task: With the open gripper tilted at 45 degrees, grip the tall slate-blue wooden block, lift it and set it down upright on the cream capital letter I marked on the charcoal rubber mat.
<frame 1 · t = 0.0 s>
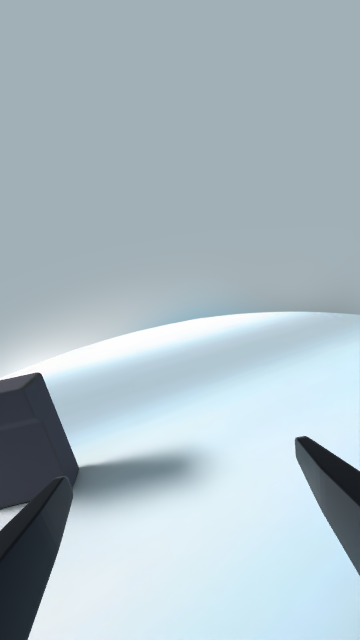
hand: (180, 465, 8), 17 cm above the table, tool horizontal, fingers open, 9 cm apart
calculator: (34, 491, 27), on the table
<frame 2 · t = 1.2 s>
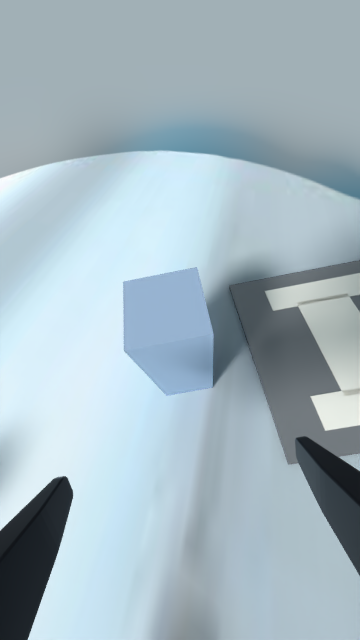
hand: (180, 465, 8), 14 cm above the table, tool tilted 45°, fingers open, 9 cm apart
blue block: (185, 368, 24), on the table
letter mat: (343, 340, 23), on the table
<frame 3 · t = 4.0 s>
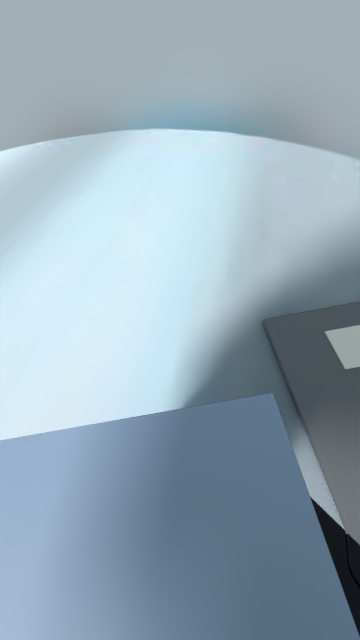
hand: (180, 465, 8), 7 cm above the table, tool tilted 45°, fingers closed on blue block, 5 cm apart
blue block: (196, 482, 13), on the table, touching gripper
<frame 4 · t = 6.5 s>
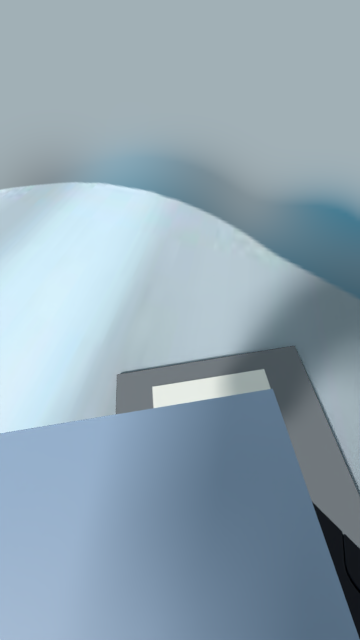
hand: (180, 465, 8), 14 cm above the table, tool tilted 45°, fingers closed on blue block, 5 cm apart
blue block: (197, 481, 13), point 7 cm above the table, touching gripper
letter mat: (224, 468, 19), on the table
when the fingers open (8 cm above the table, at t = 8.4 s): blue block stays where it is, resting on letter mat.
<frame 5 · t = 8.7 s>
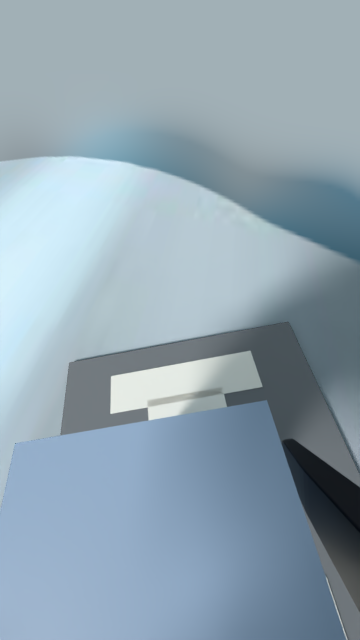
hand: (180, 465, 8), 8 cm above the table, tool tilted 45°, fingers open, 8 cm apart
blue block: (197, 480, 14), point 1 cm above the table, touching letter mat
letter mat: (197, 478, 15), on the table
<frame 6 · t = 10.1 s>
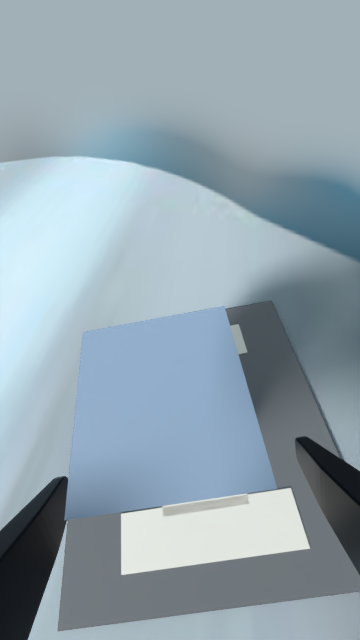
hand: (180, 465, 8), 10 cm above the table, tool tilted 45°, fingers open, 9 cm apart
blue block: (192, 423, 17), resting on letter mat
letter mat: (192, 423, 18), on the table
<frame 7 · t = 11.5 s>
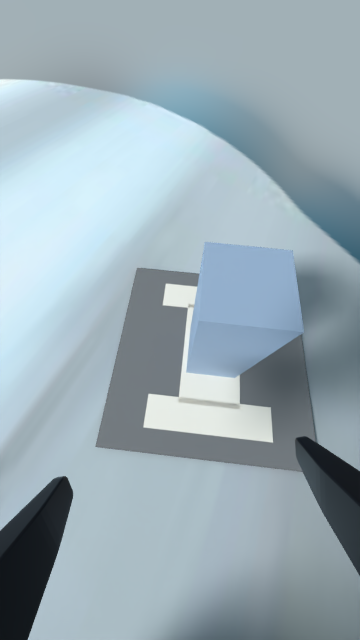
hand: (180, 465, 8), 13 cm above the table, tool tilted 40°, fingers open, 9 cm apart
blue block: (211, 351, 23), resting on letter mat
letter mat: (210, 352, 24), on the table
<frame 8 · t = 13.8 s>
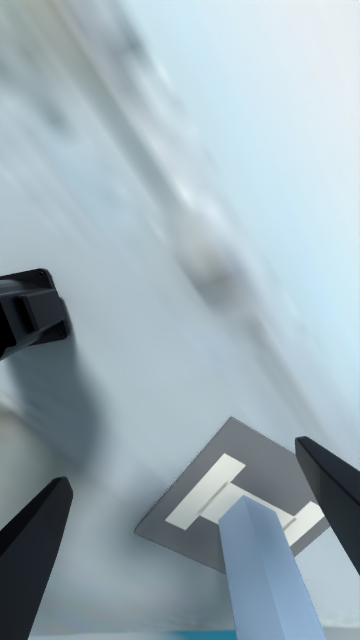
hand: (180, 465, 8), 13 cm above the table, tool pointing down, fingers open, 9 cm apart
blue block: (246, 516, 26), resting on letter mat
letter mat: (245, 511, 27), on the table
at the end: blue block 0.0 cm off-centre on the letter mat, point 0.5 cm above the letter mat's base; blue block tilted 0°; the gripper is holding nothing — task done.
